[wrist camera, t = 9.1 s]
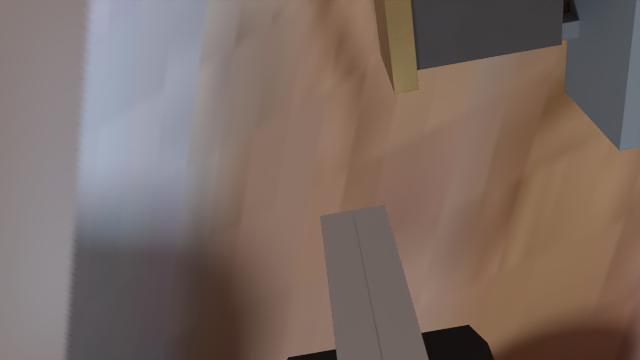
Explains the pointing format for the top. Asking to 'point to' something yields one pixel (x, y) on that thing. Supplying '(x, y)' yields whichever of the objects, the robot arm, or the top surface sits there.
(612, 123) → the socket block
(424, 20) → the yellow capped grey block
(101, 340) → the top surface
